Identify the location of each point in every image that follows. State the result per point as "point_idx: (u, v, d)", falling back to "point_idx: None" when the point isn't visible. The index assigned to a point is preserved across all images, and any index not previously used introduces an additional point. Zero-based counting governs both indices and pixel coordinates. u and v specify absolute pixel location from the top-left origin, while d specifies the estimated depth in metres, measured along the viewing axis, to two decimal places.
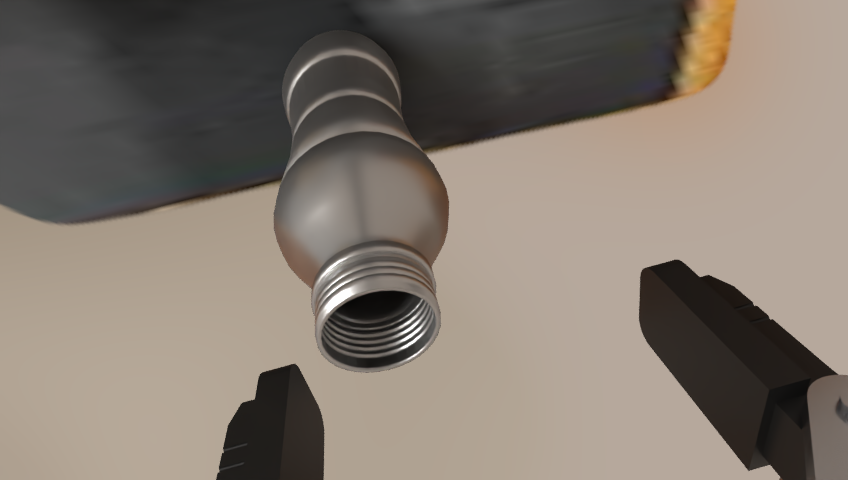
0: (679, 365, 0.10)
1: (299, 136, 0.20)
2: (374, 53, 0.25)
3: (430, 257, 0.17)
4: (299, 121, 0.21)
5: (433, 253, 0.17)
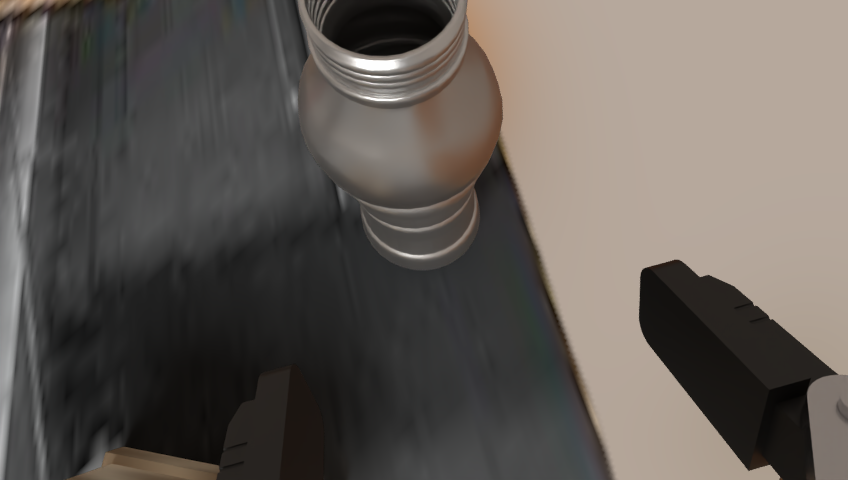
0: (679, 365, 0.10)
1: (371, 210, 0.19)
2: None
3: None
4: (383, 223, 0.21)
5: None
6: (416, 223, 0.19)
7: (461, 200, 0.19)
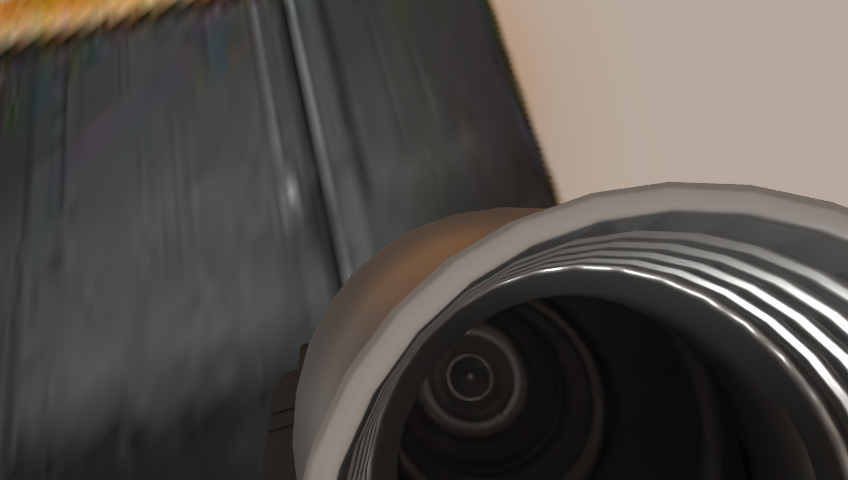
0: None
1: None
2: None
3: None
4: None
5: None
6: None
7: None
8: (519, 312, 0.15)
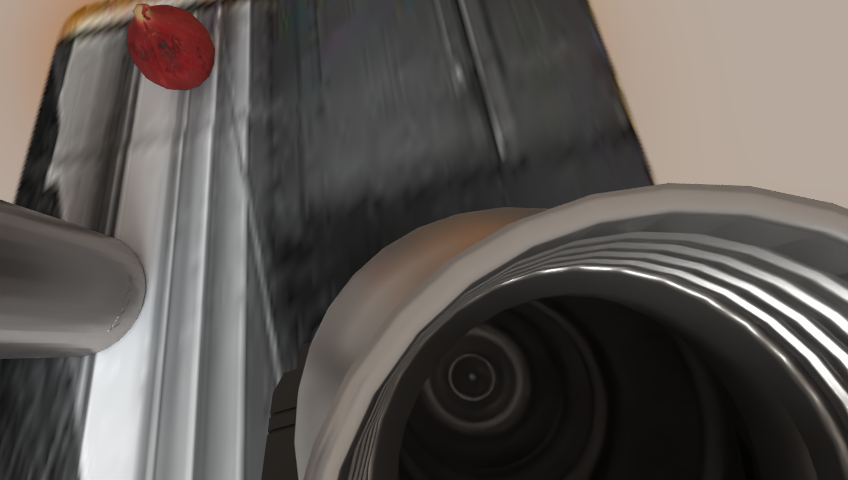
0: None
1: None
2: None
3: None
4: None
5: None
6: None
7: None
8: (521, 312, 0.15)
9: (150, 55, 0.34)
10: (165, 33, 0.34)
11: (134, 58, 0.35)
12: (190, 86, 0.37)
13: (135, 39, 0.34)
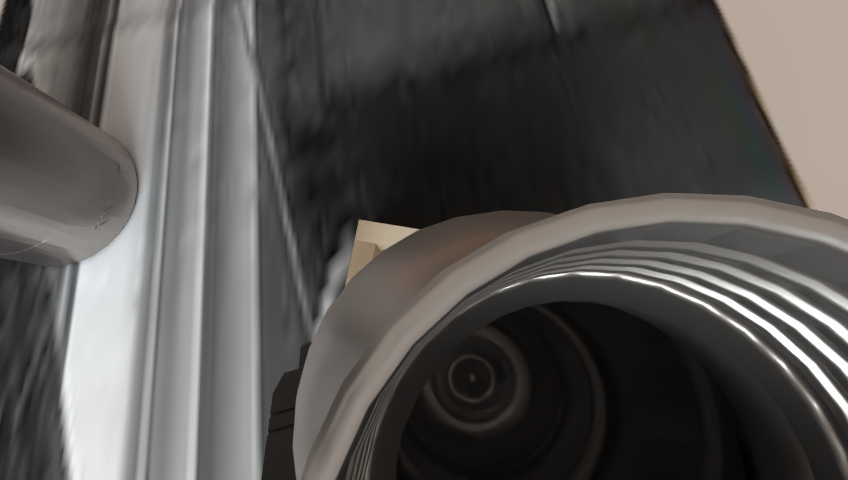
0: None
1: None
2: None
3: None
4: None
5: None
6: None
7: None
8: (521, 313, 0.15)
9: None
10: None
11: None
12: None
13: None
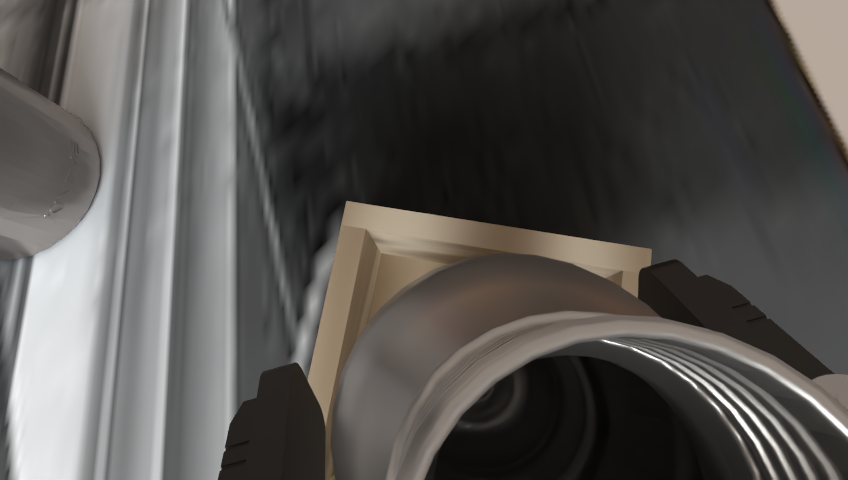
0: None
1: None
2: None
3: (530, 307, 0.06)
4: None
5: (527, 298, 0.07)
6: None
7: None
8: None
9: None
10: None
11: None
12: None
13: None
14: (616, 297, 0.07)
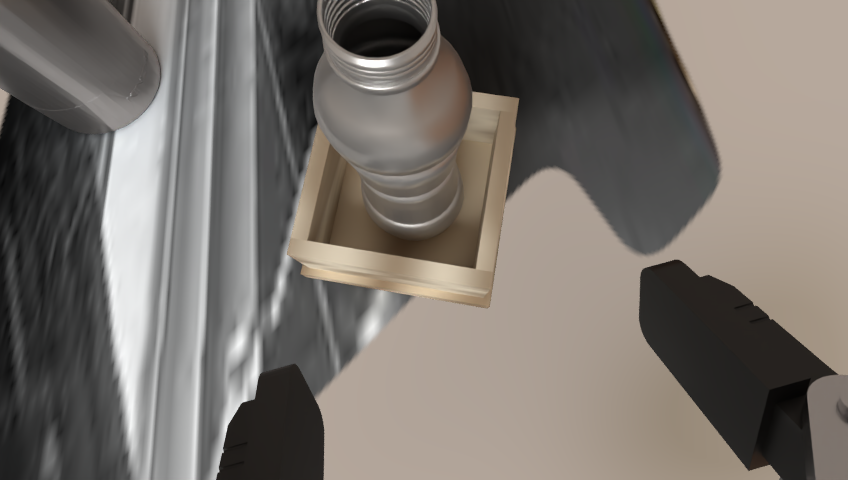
0: (679, 365, 0.10)
1: (370, 181, 0.23)
2: None
3: None
4: (379, 193, 0.25)
5: None
6: (406, 192, 0.23)
7: (443, 173, 0.23)
8: None
9: None
10: None
11: None
12: None
13: None
14: None
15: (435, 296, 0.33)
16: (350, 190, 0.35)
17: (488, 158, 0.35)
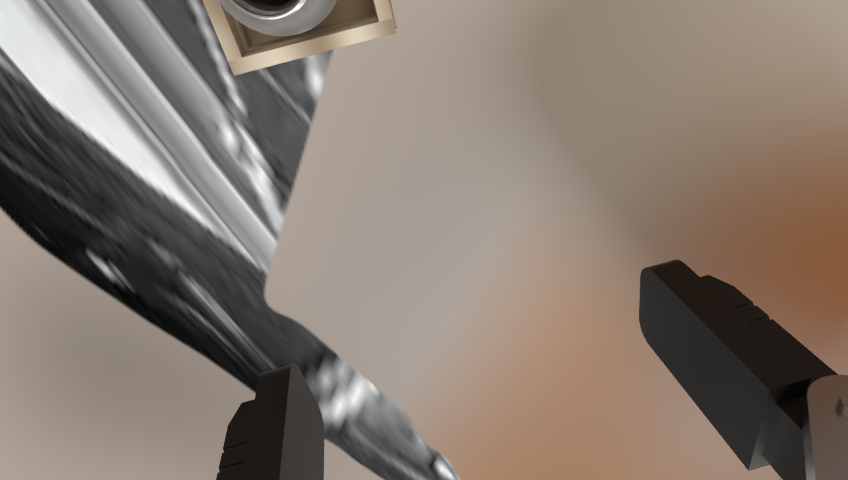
0: (679, 365, 0.10)
1: None
2: None
3: None
4: None
5: None
6: None
7: None
8: None
9: None
10: None
11: None
12: None
13: None
14: None
15: None
16: None
17: None
